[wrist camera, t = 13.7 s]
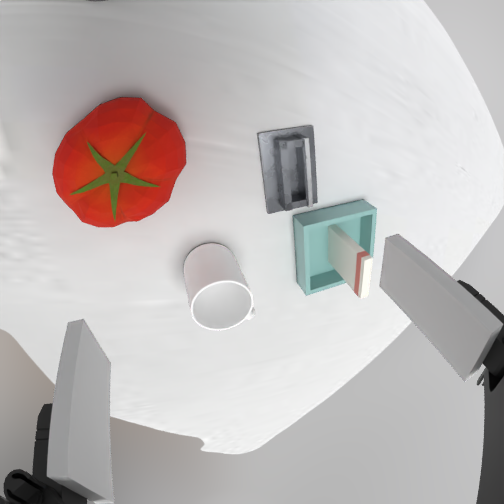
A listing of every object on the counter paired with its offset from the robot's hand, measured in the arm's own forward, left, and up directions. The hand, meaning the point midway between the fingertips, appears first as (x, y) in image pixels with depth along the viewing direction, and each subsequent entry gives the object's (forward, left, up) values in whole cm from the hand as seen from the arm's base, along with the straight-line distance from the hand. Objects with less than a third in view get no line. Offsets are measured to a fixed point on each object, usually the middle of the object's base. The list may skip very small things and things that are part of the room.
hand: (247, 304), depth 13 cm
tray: (+20, +21, -32) cm, 43 cm away
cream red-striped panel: (+20, +21, -31) cm, 42 cm away
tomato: (-1, -8, -32) cm, 33 cm away
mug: (+20, +1, -32) cm, 38 cm away
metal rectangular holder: (+6, +14, -32) cm, 35 cm away
